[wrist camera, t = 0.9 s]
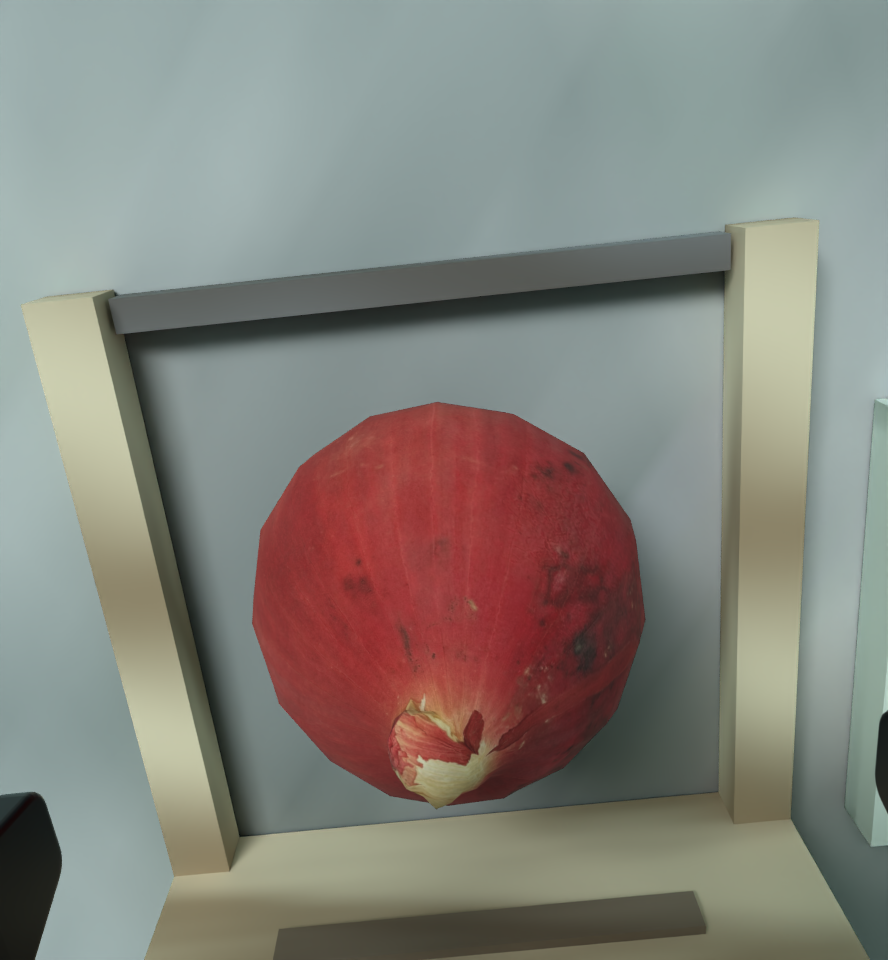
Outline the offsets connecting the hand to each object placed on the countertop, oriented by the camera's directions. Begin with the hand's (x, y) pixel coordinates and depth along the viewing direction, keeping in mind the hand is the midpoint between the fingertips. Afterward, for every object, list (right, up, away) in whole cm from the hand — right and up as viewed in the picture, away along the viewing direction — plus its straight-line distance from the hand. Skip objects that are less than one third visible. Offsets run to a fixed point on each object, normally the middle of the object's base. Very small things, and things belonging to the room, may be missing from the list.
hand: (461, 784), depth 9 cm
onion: (0, +3, +8) cm, 8 cm away
